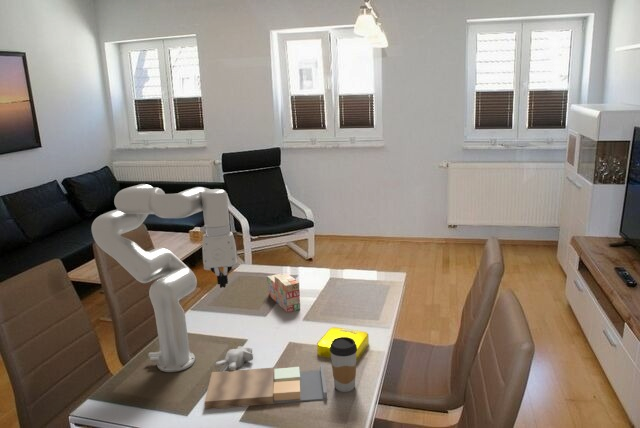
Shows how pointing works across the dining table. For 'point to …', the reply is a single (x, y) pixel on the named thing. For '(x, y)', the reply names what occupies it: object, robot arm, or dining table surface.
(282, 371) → the sage tile
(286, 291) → the stack of blocks
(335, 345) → the coffee cup
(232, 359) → the bunny figurine
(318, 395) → the grey square tray
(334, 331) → the element tile
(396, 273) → the dining table surface
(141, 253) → the robot arm
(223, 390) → the board
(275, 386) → the light orange flat block
